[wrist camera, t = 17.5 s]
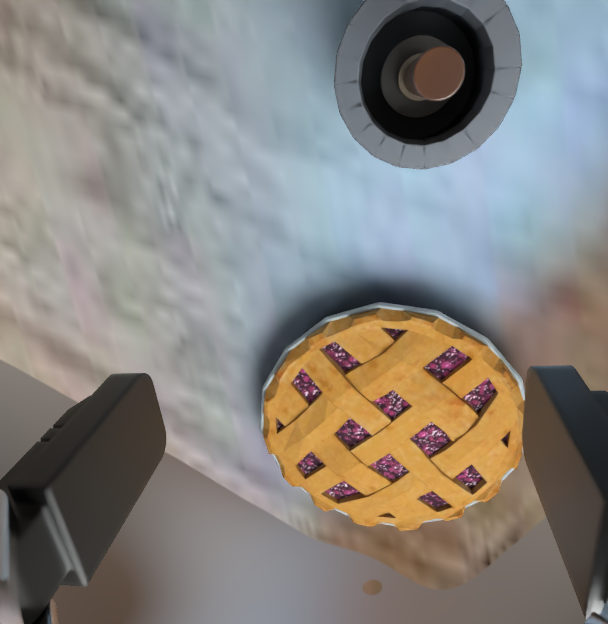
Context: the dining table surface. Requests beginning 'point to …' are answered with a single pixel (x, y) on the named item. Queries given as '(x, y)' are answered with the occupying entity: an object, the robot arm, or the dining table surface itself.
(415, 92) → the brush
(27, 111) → the dining table surface
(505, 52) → the grey cup
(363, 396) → the pie
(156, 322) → the dining table surface
